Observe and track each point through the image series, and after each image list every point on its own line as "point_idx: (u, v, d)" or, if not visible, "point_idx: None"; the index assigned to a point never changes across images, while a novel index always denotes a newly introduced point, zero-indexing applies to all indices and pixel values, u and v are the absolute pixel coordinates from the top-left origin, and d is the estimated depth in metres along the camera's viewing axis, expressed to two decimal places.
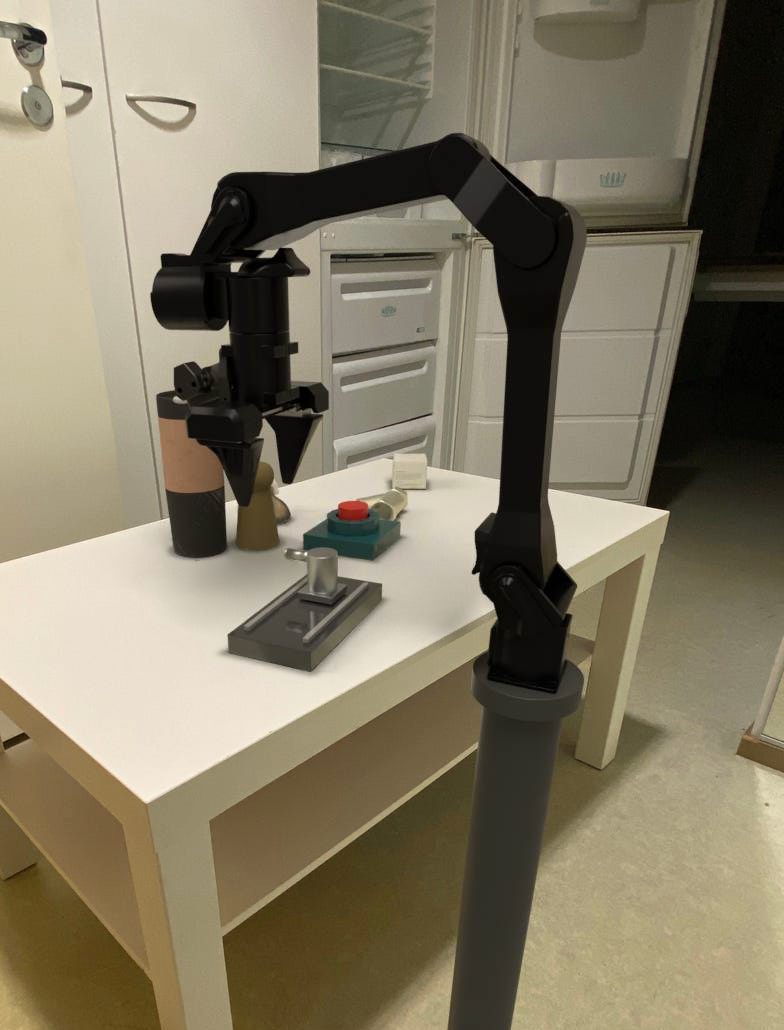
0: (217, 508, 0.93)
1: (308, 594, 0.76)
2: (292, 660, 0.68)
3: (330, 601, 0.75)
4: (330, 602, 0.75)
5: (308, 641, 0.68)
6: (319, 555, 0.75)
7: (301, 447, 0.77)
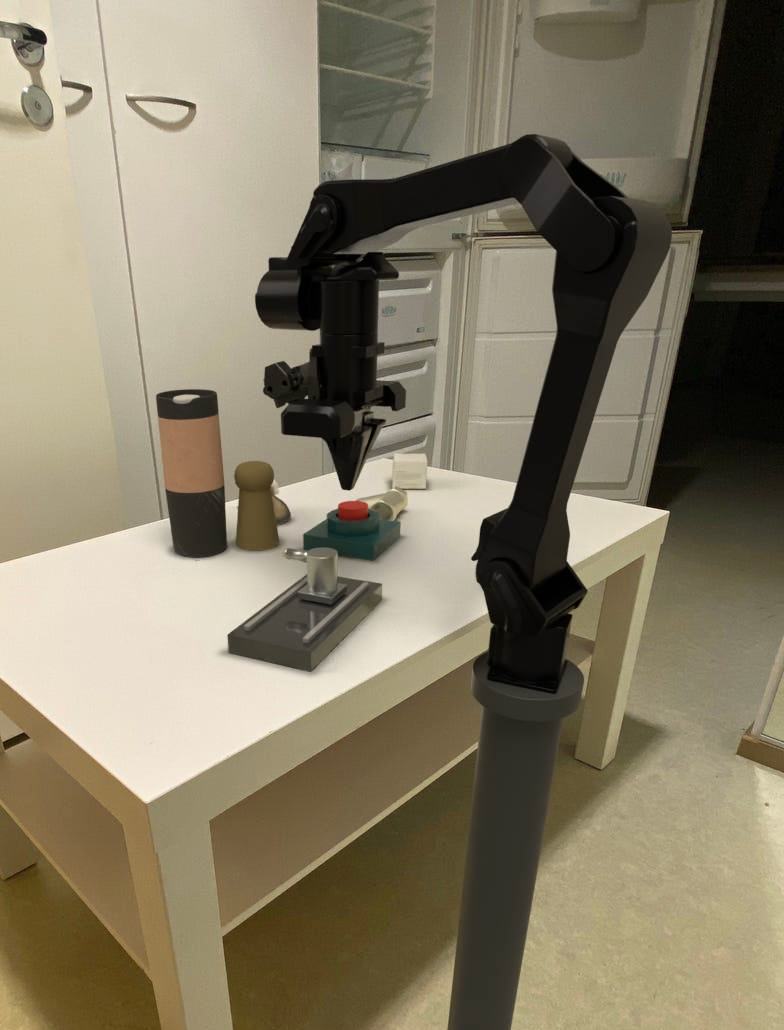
0: (217, 508, 0.93)
1: (308, 594, 0.76)
2: (292, 660, 0.68)
3: (330, 601, 0.75)
4: (330, 602, 0.75)
5: (308, 641, 0.68)
6: (319, 555, 0.75)
7: (364, 452, 0.76)
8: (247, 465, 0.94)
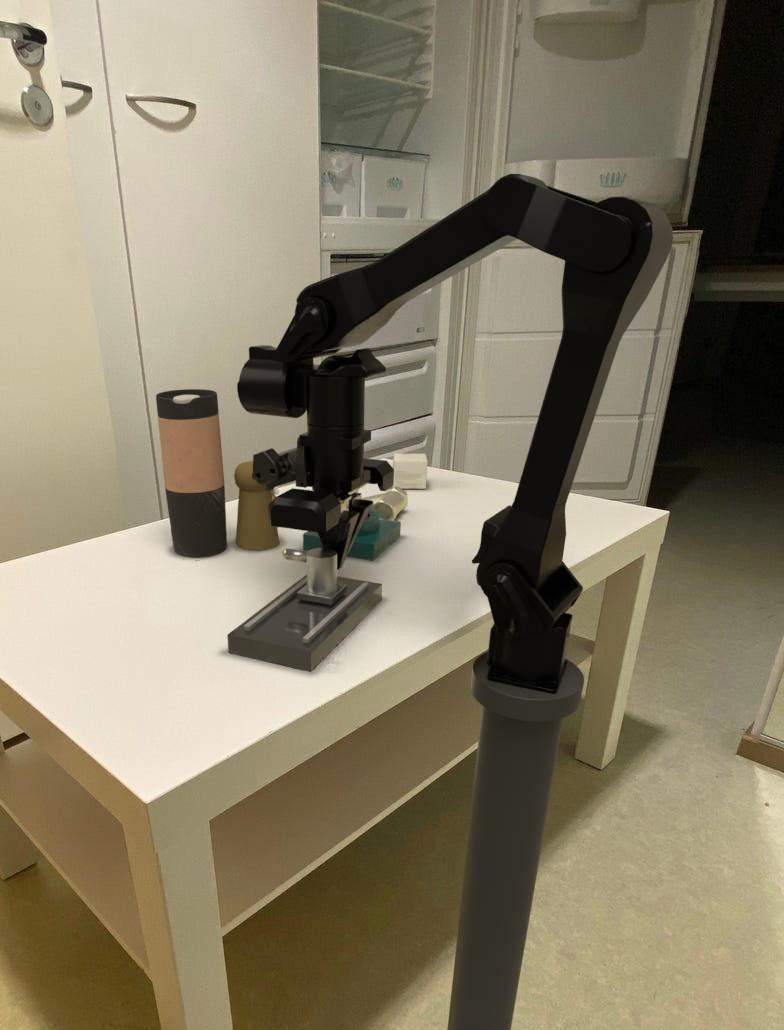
0: (217, 508, 0.93)
1: (307, 594, 0.76)
2: (292, 660, 0.68)
3: (329, 601, 0.75)
4: (329, 602, 0.75)
5: (308, 641, 0.68)
6: (318, 555, 0.75)
7: (352, 534, 0.77)
8: (247, 465, 0.94)
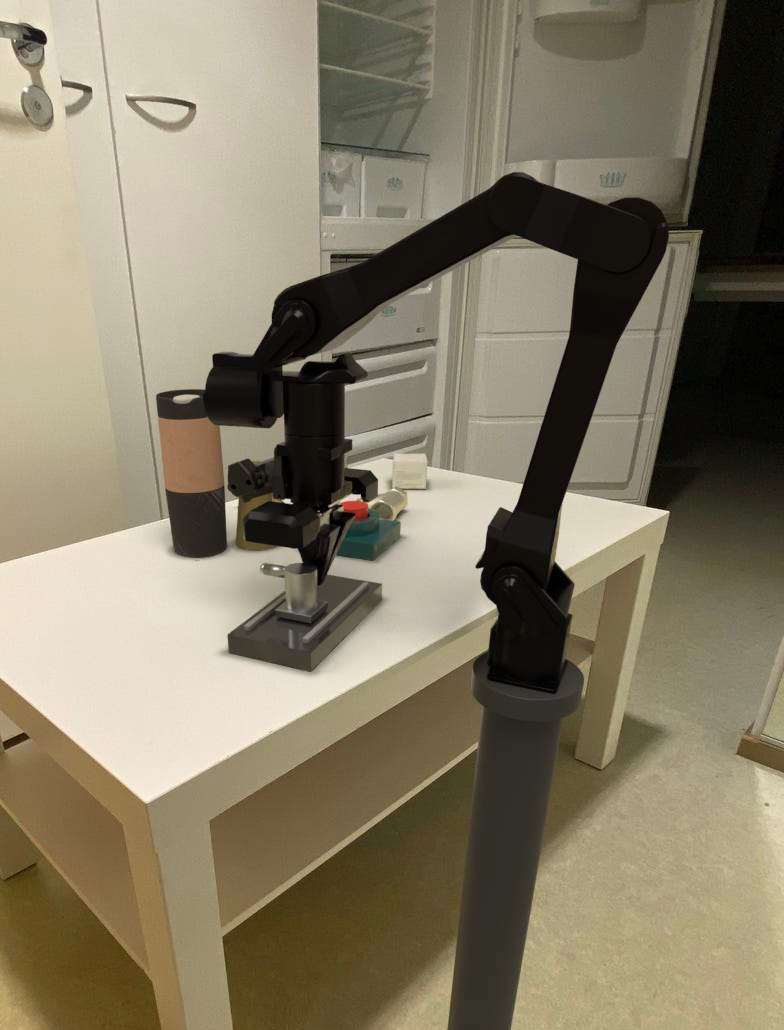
0: (217, 508, 0.93)
1: (286, 612, 0.72)
2: (292, 660, 0.68)
3: (309, 620, 0.71)
4: (309, 621, 0.71)
5: (308, 641, 0.68)
6: (297, 571, 0.71)
7: (333, 548, 0.73)
8: None
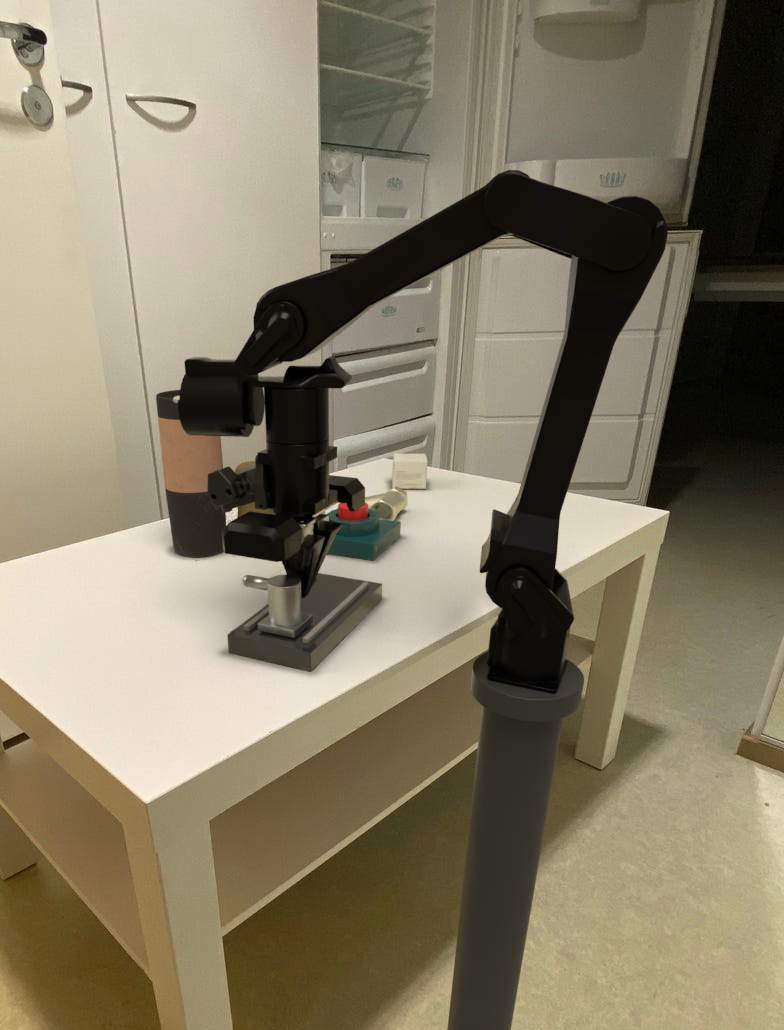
0: (217, 508, 0.93)
1: (269, 626, 0.69)
2: (292, 660, 0.68)
3: (293, 634, 0.69)
4: (293, 635, 0.68)
5: (308, 641, 0.68)
6: (280, 583, 0.68)
7: (318, 560, 0.71)
8: (247, 465, 0.94)
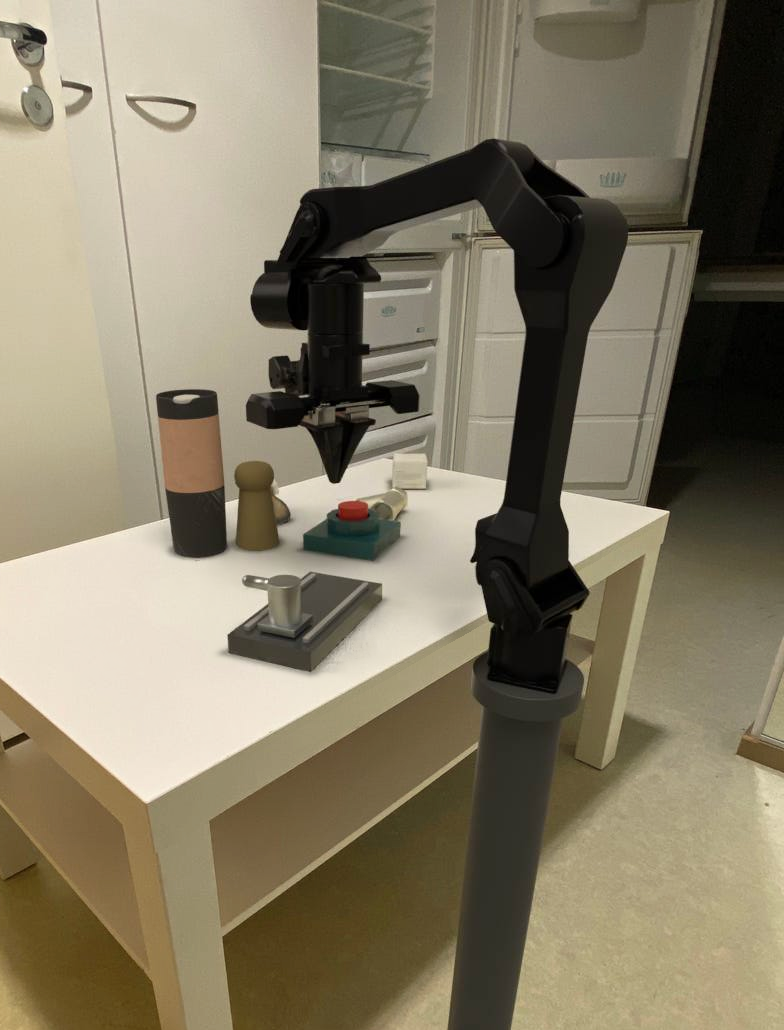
0: (217, 508, 0.93)
1: (269, 626, 0.69)
2: (292, 660, 0.68)
3: (292, 634, 0.69)
4: (292, 635, 0.68)
5: (308, 641, 0.68)
6: (280, 583, 0.68)
7: (345, 449, 0.79)
8: (247, 465, 0.94)
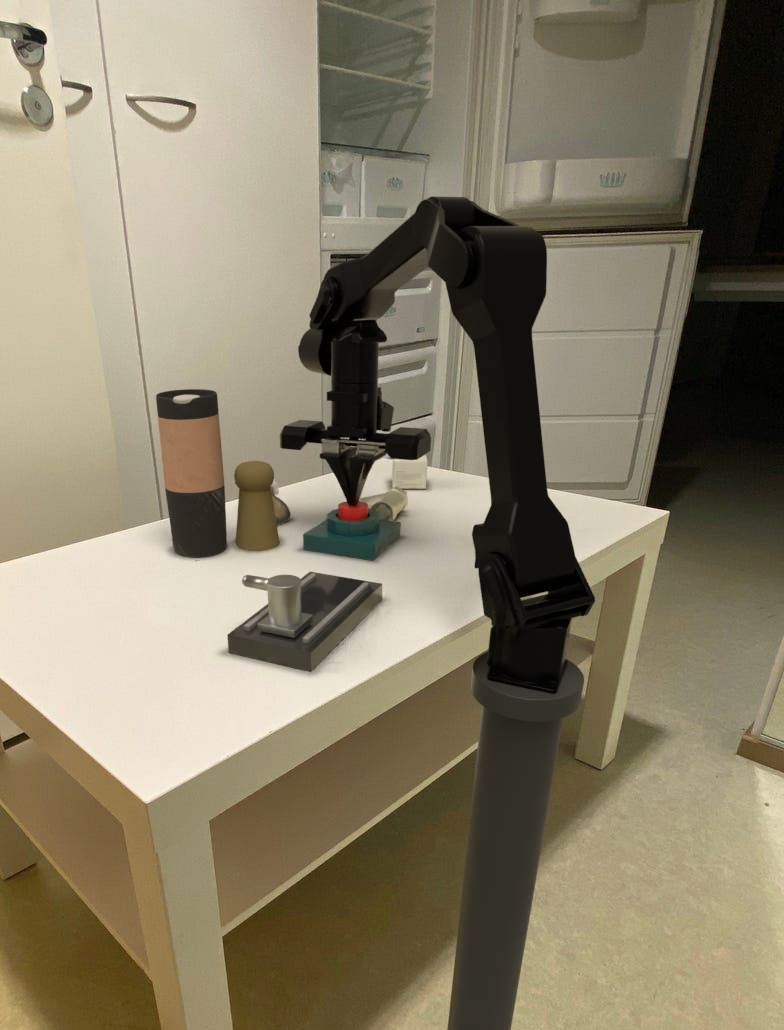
0: (217, 508, 0.93)
1: (269, 626, 0.69)
2: (292, 660, 0.68)
3: (292, 634, 0.69)
4: (292, 635, 0.68)
5: (308, 641, 0.68)
6: (280, 583, 0.68)
7: (350, 478, 0.93)
8: (247, 465, 0.94)
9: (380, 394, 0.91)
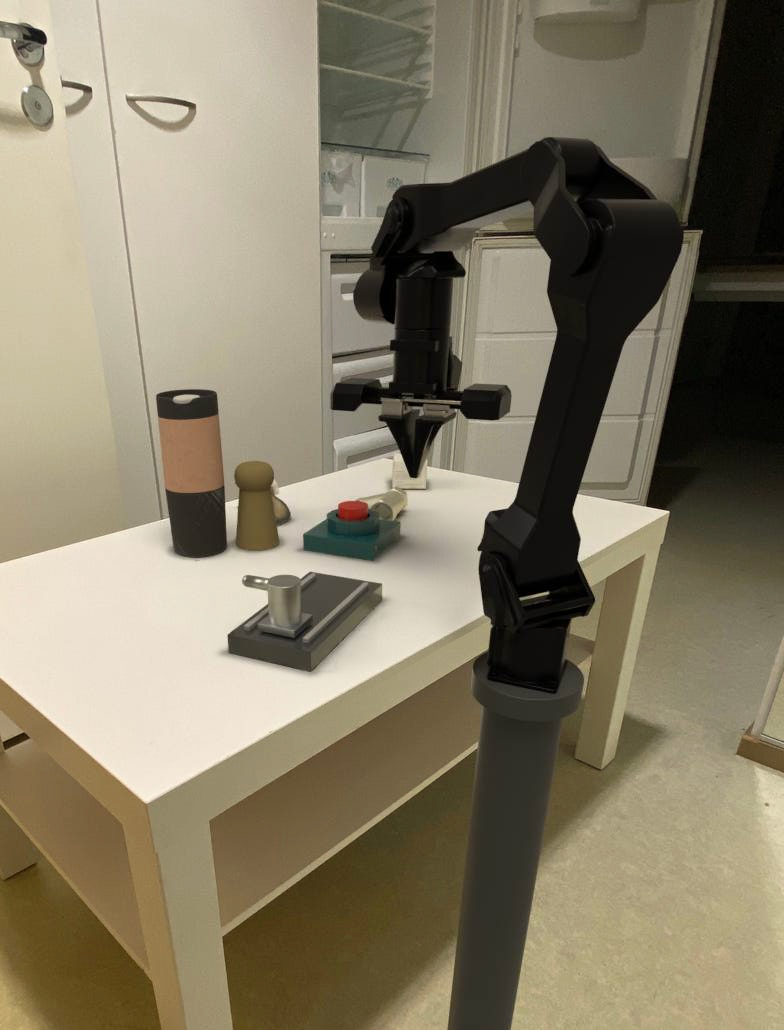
0: (217, 508, 0.93)
1: (269, 626, 0.69)
2: (292, 660, 0.68)
3: (292, 634, 0.69)
4: (292, 635, 0.68)
5: (308, 641, 0.68)
6: (280, 583, 0.68)
7: None
8: (247, 465, 0.94)
9: (451, 345, 0.77)
